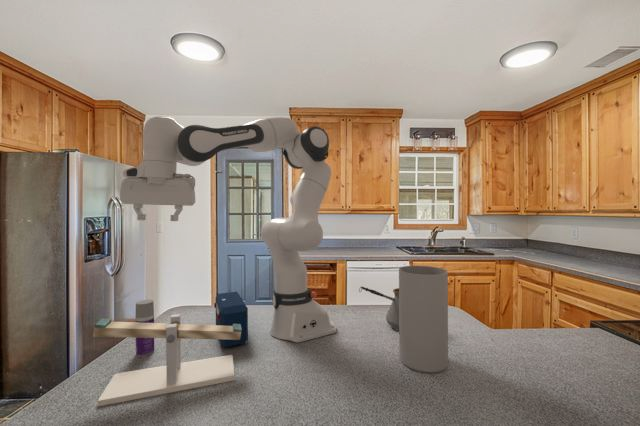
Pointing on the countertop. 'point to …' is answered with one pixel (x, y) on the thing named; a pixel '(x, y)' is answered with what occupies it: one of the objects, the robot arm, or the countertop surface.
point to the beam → (159, 330)
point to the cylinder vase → (423, 318)
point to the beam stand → (168, 374)
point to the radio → (232, 315)
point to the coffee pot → (393, 311)
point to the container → (144, 316)
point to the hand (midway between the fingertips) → (157, 220)
